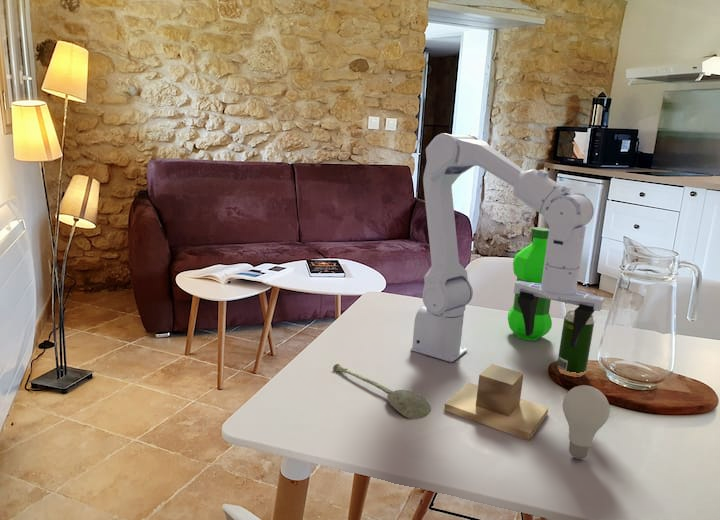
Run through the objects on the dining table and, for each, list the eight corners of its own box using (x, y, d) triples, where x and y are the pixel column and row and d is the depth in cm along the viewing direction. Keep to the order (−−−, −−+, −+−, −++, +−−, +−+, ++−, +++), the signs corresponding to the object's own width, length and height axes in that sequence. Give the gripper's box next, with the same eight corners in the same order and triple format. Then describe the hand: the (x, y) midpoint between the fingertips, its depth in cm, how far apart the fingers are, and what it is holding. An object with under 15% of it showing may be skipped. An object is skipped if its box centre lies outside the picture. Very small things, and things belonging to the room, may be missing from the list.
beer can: (574, 380, 103) (583, 321, 100) (550, 369, 108) (559, 312, 105) (591, 375, 106) (601, 317, 103) (567, 364, 110) (576, 308, 108)
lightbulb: (598, 451, 80) (610, 382, 77) (601, 475, 74) (615, 402, 72) (554, 442, 82) (565, 374, 79) (554, 464, 76) (566, 392, 74)
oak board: (444, 410, 89) (445, 403, 89) (468, 388, 97) (469, 382, 97) (528, 440, 82) (529, 433, 82) (547, 414, 90) (548, 407, 90)
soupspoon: (411, 430, 85) (437, 419, 89) (414, 411, 84) (440, 400, 89) (322, 375, 100) (348, 368, 105) (324, 358, 99) (350, 351, 104)
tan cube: (475, 405, 89) (479, 374, 88) (488, 393, 93) (491, 363, 92) (508, 416, 86) (512, 385, 85) (519, 403, 91) (523, 373, 89)
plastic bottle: (495, 334, 125) (508, 227, 119) (520, 325, 132) (534, 223, 126) (534, 348, 118) (550, 235, 112) (558, 337, 125) (575, 231, 119)
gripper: (512, 261, 93) (502, 335, 96) (602, 277, 85) (589, 358, 89) (525, 254, 99) (515, 325, 102) (610, 269, 91) (597, 345, 94)
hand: (550, 339), depth 96 cm, fingers open, 7 cm apart
